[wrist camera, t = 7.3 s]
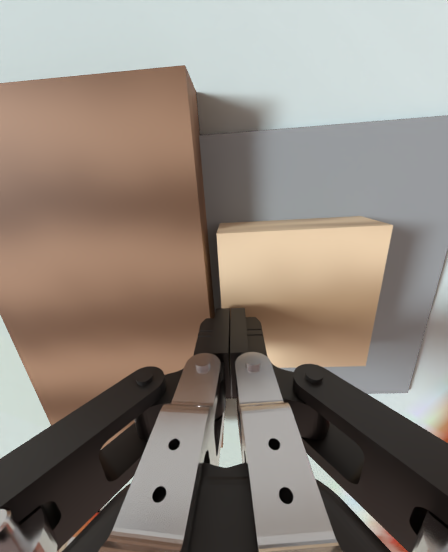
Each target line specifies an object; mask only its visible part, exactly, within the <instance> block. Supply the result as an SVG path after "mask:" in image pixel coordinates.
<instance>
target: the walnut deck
mask: <svg viewBox="0 0 448 552" xmlns="http://www.w3.org/2000/svg"><path fill="white" fill-rule="evenodd" d="M199 135H200V132H199V120H198V109H197V98H196V90H195V88H194V86H193V83H192V81H191V78H190V76H189V74H188V71H187V69H186V67H185V65H183V66H173V67H163V68H153V69H142V70H132V71H122V72H111V73H101V74H91V75H80V76H70V77H60V78H49V79H39V80H29V81H18V82H8V83H0V315H1V317H2V319H3V321H4V323H5V325H6V328H7V330H8V332H9V334H10V336H11V339H12V341H13V343H14V345H15V347H16V350H17V352H18V354H19V356H20V358H21V360H22V363H23V365H24V367H25V369H26V371H27V374H28V376H29V378H30V380H31V382H32V385H33V387H34V389H35V391H36V393H37V395H38V398H39V400H40V402H41V404H42V406H43V409H44V411H45V413H46V415H47V417H48V420H49V422H50V424H51V426H52V425H53V424H55V423H56V422H58V421H59V420H61V419H62V418H64V417H65V416H67V415H69V414H70V413H72V412H73V411H75V410H76V409H78V408H79V407H81V406H82V405H84V404H85V403H87V402H88V401H90V400H92V399H93V398H95V397H96V396H98V395H99V394H101V393H102V392H104V391H105V390H107V389H108V388H110V387H112V386H113V385H115V384H116V383H118V382H119V381H121V380H122V379H124V378H125V377H127V376H128V375H130V374H132V373H133V372H135V371H136V370H138V369H140V368H143V367H148V366H154V367H158V368H160V369H161V370H162V371H163V372H164V375H166V374H170V373H173V372H177V371H179V370H182V369H183V368H184V367H185V364H186V362H187V361H188V359H190V358H191V357H192V356H193V355H194V350H195V346H196V341H197V337H198V333H199V328H200V324H201V323H202V322H203V321H204V320H205V319H206V318H215V309H214V297H213V286H212V275H211V264H210V253H209V242H208V230H207V219H206V208H205V197H204V186H203V175H202V164H201V152H200V141H199ZM133 423H135V421H134V420H133V421H132V422H130V423H129V424H128V425H127V426H125V427H124V428H123V429H122V430H120V431H119V432H118V433H117V434H115V435H114V436H113V437H112V438H110V439H109V440H108V441H107V442H106V443H105V444H104V445H103V446H102V448H104V447H105V446H106V445H107V444H109V443H110V442H111V441H112V440H114V439H115V438H116V437H117V436H119V435H120V434H121V433H122V432H123V431H125V430H126V429H127V428H128V427H130V426H131V425H132V424H133ZM223 429H224V425H223ZM221 447H223V433H222V441H221Z"/></svg>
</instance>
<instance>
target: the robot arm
mask: <svg viewBox="0 0 448 552" xmlns="http://www.w3.org/2000/svg"><path fill="white" fill-rule="evenodd" d="M231 379H232V396H233V398H237V415H238V426H239V436H240V446H241V455H242V464H239V465H236V466H232V467H229V468H222V467H219V458H220V450H221V441H222V433H223V425H224V410H225V403H226V398H231ZM133 420H134V421H135V423H133V424H132V425H131V426H130V427H128V428H127V429H126V430H125V431H123V432H122V433H121V434H120V435H119V436H117V437H116V438H115V439H114V440H112V441H111V442H110V443H109V444H107V445H106V446H105V447H104V448H103V449H101V448H102V446H103V445H104V444H105V443H106V442H107V441H108V440H109V439H110V438H112V437H113V436H114V435H115V434H117V433H118V432H119V431H120V430H122V429H123V428H124V427H125V426H127V425H128V424H129V423H130V422H132V421H133ZM307 454H308V455H309V456H310V457H311V458H312V459H313V460H314V461H315V462H316V463H317V464H318V465H319V466H320V467H321V468H323V469H324V470H325V471H326V472H327V473H328V474H329V475H330V476H331V477H332V478H333V479H334V480H335V481H336V482H337V483H338V484H339V485H340V486H341V487H342V488H343V489H344V490H345V491H346V492H347V493H348V494H349V495H350V496H351V497H352V498H353V499H355V500H356V501H357V502H358V503H359V504H360V505H361V506H362V507H363V508H364V509H365V510H366V511H367V512H368V513H369V514H370V515H371V516H372V517H373V518H374V519H375V520H376V521H377V522H378V523H379V524H380V525H381V526H382V527H383V528H384V529H385V530H387V531H388V532H389V533H390V534H391V535H392V536H393V537H394V538H395V539H396V540H397V541H398V542H399V543H400V544H401V545H402V546H403V547H404V548H405V549H406V550H407V551H408V552H448V443H446V442H445V441H443V440H441V439H440V438H438V437H436V436H435V435H433V434H432V433H430V432H428V431H427V430H425V429H423V428H422V427H420V426H418V425H417V424H415V423H414V422H412V421H410V420H409V419H407V418H405V417H404V416H402V415H400V414H399V413H397V412H396V411H394V410H392V409H391V408H389V407H387V406H386V405H384V404H383V403H381V402H379V401H378V400H376V399H374V398H373V397H371V396H369V395H368V394H366V393H365V392H363V391H361V390H360V389H358V388H356V387H355V386H353V385H351V384H350V383H348V382H347V381H345V380H343V379H342V378H340V377H338V376H337V375H335V374H334V373H332V372H330V371H329V370H327V369H325V368H323V367H321V366H319V365H315V364H303V365H300V366H298V367H297V368H296V369H295V370H294V372H292V371H287V370H284V369H281V368H278V367H276V366H275V365H273V364H272V363H271V361H270V360H269V358H268V356H267V352H266V347H265V341H264V336H263V331H262V326H261V322H260V321H259V320H258V319H257V318H256V317H246V315H245V308H231V320H230V308H218V309H216V310H215V318H206V319H205V320H204V321H203V322H202V323H201V324H200V328H199V333H198V337H197V341H196V346H195V350H194V355H193V356H192V357H191V358H190V359H188V361H187V362H186V364H185V367H184V368H183V369H182V370H179V371H177V372H173V373H170V374H166V375H164V372H163V371H162V370H161V369H160V368H158V367H154V366H148V367H143V368H140V369H138V370H136V371H135V372H133V373H132V374H130V375H128V376H127V377H125V378H124V379H122V380H121V381H119V382H118V383H116V384H115V385H113V386H112V387H110V388H108V389H107V390H105V391H104V392H102V393H101V394H99V395H98V396H96V397H95V398H93V399H92V400H90V401H88V402H87V403H85V404H84V405H82V406H81V407H79V408H78V409H76V410H75V411H73V412H72V413H70V414H69V415H67V416H65V417H64V418H62V419H61V420H59V421H58V422H56V423H55V424H53V425H52V426H50V427H49V428H47V429H45V430H44V431H42V432H41V433H39V434H38V435H36V436H35V437H33V438H32V439H30V440H29V441H27V442H26V443H24V444H22V445H21V446H19V447H18V448H16V449H15V450H13V451H12V452H10V453H9V454H7V455H6V456H4V457H2V458H1V459H0V552H57V551H58V550H59V549H60V548H61V547H62V546H63V545H64V544H65V543H66V542H67V541H68V540H69V539H70V538H71V537H72V536H73V535H74V534H75V533H76V532H77V531H78V530H79V529H80V528H81V527H82V526H83V525H84V524H85V523H86V522H87V521H88V520H90V519H91V518H92V517H93V516H94V515H95V514H96V513H97V512H98V511H99V510H100V509H101V508H102V507H103V506H104V505H105V504H106V503H107V502H108V501H109V500H110V499H111V498H112V497H113V496H114V495H115V494H116V493H117V492H118V491H119V490H120V489H121V488H122V487H123V486H124V485H125V484H126V483H127V482H128V481H129V480H130V479H131V478H132V477H133V476H134V477H133V480H132V482H131V483H130V484H129V485H128V486H126V487H125V488H124V489H123V490H122V491H120V492H119V493H118V494H117V495H116V496H115V497H114V498H113V499H112V500H111V501H110V502H109V503H108V504H107V505H106V506H105V507H104V508H103V509H102V510H101V511H100V513H99V514H98V515H97V516H96V517H95V518H94V519H93V520H92V521H91V522H90V523H89V524H88V525H87V526H86V527H85V528H84V529H83V530H82V531H81V532H80V533H79V534H78V535H77V536H76V537H75V538H74V539H73V541H72V542H71V543H70V544H69V545H68V546H67V547H66V548H65V549H64V550H63V551H62V552H391V551H390V550H389V549H388V548H387V547H386V546H385V545H384V544H383V543H382V542H381V540H380V539H379V538H378V537H377V536H376V535H375V534H374V533H373V532H372V531H371V530H370V529H369V528H368V527H367V526H366V525H365V524H364V522H363V521H362V520H361V519H360V518H359V517H358V516H357V515H356V514H355V513H354V512H353V511H352V510H351V509H350V508H349V507H348V505H347V504H346V503H345V502H344V501H343V500H342V499H341V498H340V497H339V496H338V495H337V494H335V493H334V492H333V491H332V490H331V489H330V488H328V487H327V486H326V485H324V484H323V483H321V482H320V481H318V480H316V479H315V477H314V474H313V471H312V468H311V465H310V462H309V459H308V456H307Z"/></svg>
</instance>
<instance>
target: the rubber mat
mask: <svg viewBox="0 0 448 552" xmlns="http://www.w3.org/2000/svg"><path fill="white" fill-rule="evenodd" d="M199 141H200V152H201V164H202V175H203V186H204V197H205V208H206V219H207V230H208V242H209V253H210V264H211V275H212V286H213V297H214V309H215V310H216V309H218V308H222V307H221V292H220V278H219V263H218V248H217V231H218V227H219V224H220V223H233V222H253V221H272V220H292V219H312V218H331V217H351V216H363V217H366V218H370V219H373V220H377V221H380V222H384V223H387V224H391V225H393V229H392V234H391V239H390V244H389V250H388V255H387V260H386V265H385V270H384V275H383V280H382V285H381V290H380V296H379V301H378V306H377V311H376V316H375V321H374V326H373V331H372V336H371V341H370V347H369V352H368V357H367V362H366V366H348V367H323V368H325V369H327V370H329V371H330V372H332V373H334V374H335V375H337V376H338V377H340V378H342V379H343V380H345V381H347V382H348V383H350V384H351V385H353V386H355V387H356V388H358V389H360V390H361V391H363V392H365V393H366V394H374V393H408V390H409V386H410V383H411V379H412V376H413V372H414V368H415V365H416V361H417V358H418V354H419V350H420V347H421V343H422V340H423V336H424V332H425V329H426V325H427V322H428V318H429V314H430V311H431V307H432V304H433V300H434V296H435V293H436V289H437V286H438V282H439V278H440V275H441V271H442V268H443V264H444V260H445V257H446V253H447V250H448V115H447V116H435V117H422V118H410V119H397V120H385V121H372V122H360V123H348V124H335V125H323V126H310V127H298V128H285V129H273V130H261V131H248V132H236V133H223V134H211V135H199ZM281 369H284V370H287V371H292V372H294V370H295V369H296V368H281ZM231 396H232V379H231Z"/></svg>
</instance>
